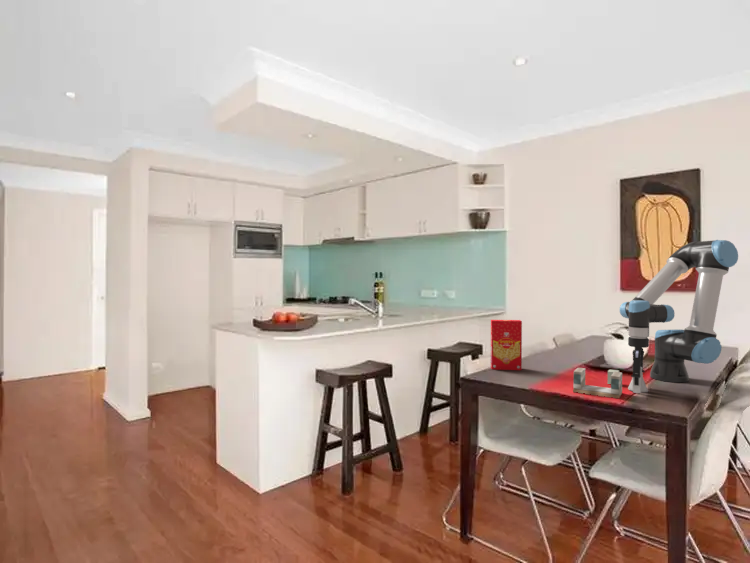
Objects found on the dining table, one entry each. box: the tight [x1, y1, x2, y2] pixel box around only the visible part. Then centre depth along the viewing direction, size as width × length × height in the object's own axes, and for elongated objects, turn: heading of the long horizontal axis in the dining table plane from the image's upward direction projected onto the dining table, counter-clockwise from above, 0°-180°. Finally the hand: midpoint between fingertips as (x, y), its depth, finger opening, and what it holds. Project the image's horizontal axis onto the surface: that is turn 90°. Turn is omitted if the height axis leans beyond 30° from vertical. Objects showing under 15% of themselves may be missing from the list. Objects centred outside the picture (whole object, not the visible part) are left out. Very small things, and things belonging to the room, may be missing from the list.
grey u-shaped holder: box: [572, 367, 623, 399], centre depth 188 cm, size 17×10×9 cm, turn 55°
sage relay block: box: [606, 369, 620, 384], centre depth 202 cm, size 4×5×6 cm
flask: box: [627, 367, 649, 393], centre depth 191 cm, size 7×7×10 cm
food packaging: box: [490, 319, 523, 371], centre depth 233 cm, size 15×5×25 cm, turn 82°
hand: (637, 390), depth 191 cm, fingers open, 9 cm apart
